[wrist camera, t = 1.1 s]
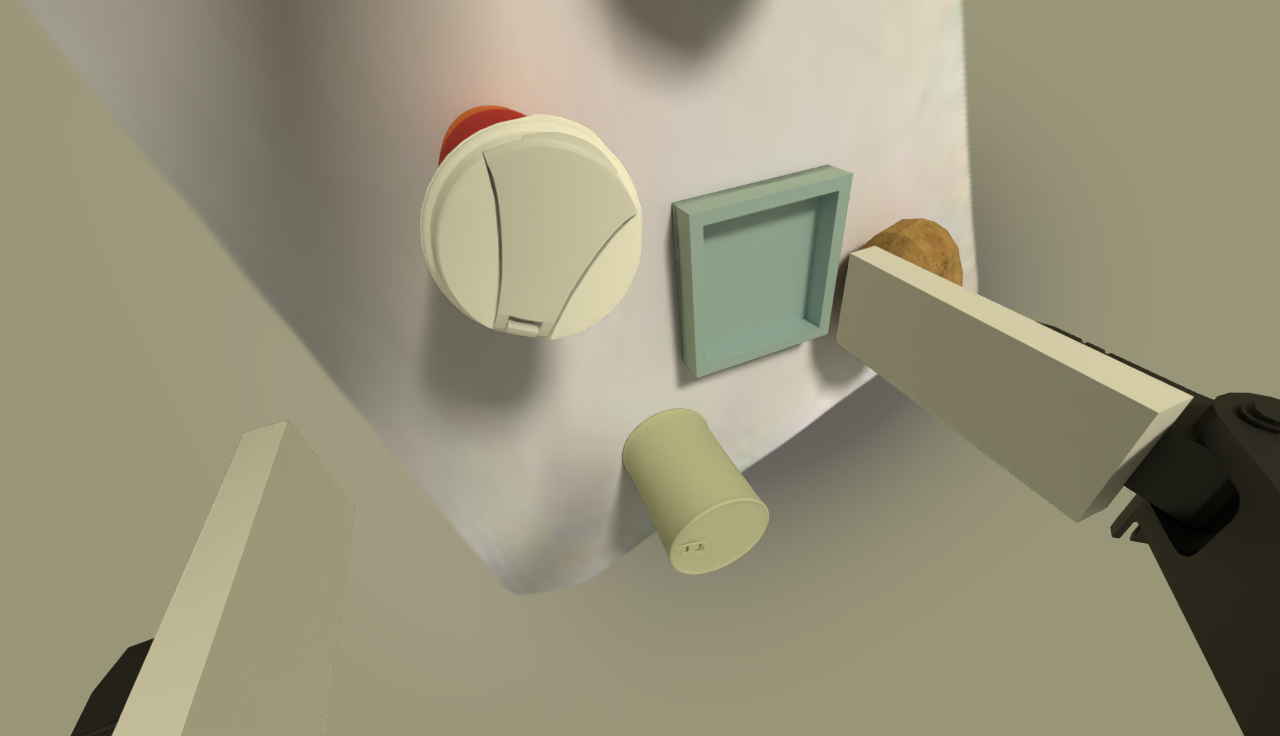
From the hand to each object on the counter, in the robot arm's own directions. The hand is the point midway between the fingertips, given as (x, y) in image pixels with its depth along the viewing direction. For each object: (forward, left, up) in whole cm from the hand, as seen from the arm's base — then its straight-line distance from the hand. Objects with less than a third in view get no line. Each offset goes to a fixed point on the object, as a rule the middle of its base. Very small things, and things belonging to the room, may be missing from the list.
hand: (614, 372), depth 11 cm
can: (+29, +9, -23) cm, 37 cm away
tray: (+12, +18, -22) cm, 31 cm away
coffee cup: (0, 0, -23) cm, 23 cm away
